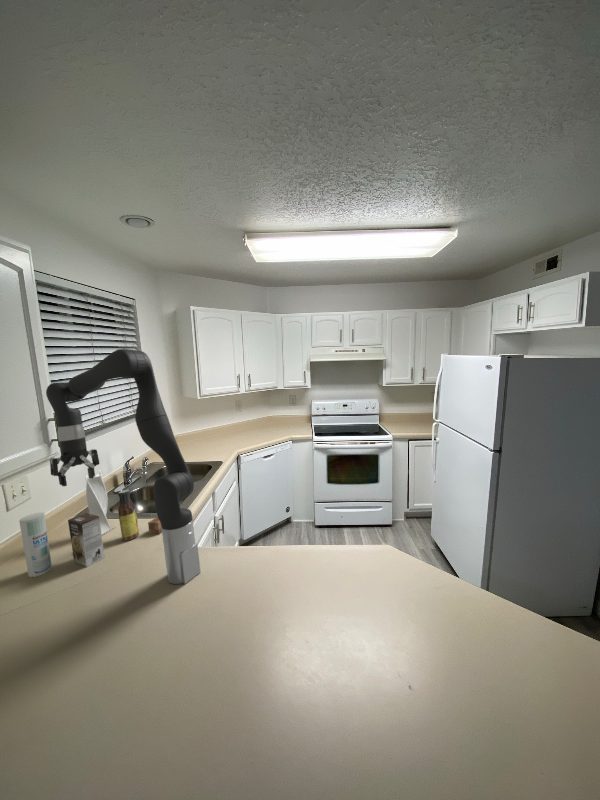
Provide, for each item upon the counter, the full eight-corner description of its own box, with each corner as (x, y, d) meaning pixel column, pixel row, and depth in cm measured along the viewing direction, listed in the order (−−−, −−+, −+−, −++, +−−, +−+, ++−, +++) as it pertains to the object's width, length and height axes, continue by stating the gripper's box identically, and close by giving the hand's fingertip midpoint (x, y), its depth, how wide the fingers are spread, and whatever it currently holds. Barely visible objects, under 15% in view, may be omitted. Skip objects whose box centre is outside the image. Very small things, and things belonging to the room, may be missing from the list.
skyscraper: (118, 528, 133) (109, 467, 131) (101, 537, 125) (92, 473, 123) (103, 527, 135) (95, 467, 133) (86, 536, 127) (77, 473, 126)
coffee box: (73, 562, 108) (66, 519, 107) (92, 552, 113) (86, 512, 112) (86, 567, 103) (79, 523, 102) (105, 557, 109) (99, 515, 108)
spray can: (36, 578, 100) (27, 521, 99) (23, 576, 102) (14, 520, 100) (56, 566, 106) (48, 512, 105) (44, 564, 108) (35, 512, 107)
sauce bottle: (142, 535, 123) (136, 489, 122) (126, 543, 118) (120, 495, 117) (134, 532, 127) (128, 487, 126) (119, 539, 122) (112, 492, 121)
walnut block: (167, 528, 128) (166, 517, 128) (159, 534, 123) (157, 523, 123) (157, 528, 129) (156, 517, 129) (149, 534, 124) (148, 522, 124)
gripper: (52, 442, 97) (59, 490, 99) (99, 433, 110) (104, 476, 111) (42, 442, 101) (49, 487, 102) (88, 433, 114) (94, 474, 115)
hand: (78, 481), depth 107 cm, fingers open, 8 cm apart
